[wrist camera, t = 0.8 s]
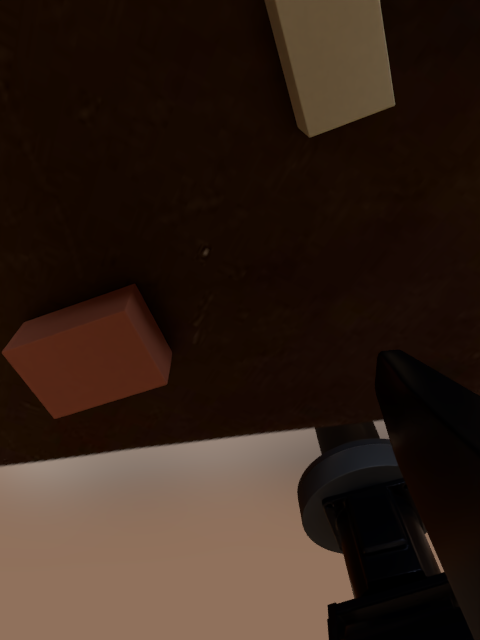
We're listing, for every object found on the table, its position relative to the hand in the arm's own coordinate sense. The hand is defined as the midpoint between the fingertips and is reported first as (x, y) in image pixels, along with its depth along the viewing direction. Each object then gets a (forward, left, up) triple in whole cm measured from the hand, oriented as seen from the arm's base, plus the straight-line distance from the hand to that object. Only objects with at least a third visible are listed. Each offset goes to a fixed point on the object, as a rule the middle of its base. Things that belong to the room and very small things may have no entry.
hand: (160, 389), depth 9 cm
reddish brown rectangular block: (-6, +8, -15) cm, 18 cm away
